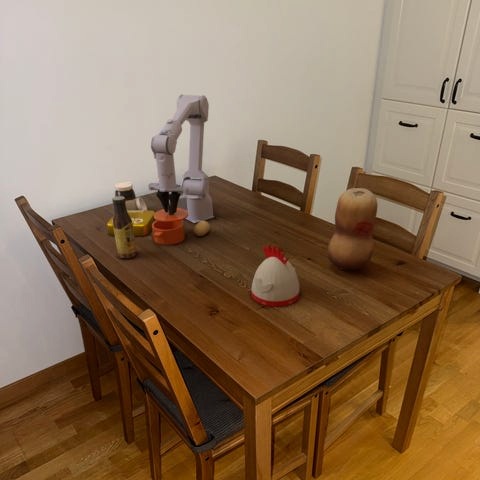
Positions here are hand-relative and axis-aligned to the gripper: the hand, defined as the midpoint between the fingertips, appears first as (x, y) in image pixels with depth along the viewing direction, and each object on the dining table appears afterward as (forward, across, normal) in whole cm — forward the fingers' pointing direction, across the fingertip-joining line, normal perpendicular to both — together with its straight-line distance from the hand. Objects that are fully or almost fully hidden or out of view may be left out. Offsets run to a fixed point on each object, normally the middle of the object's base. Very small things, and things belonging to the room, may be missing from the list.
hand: (170, 212), depth 164 cm
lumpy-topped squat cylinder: (+11, -10, +27) cm, 31 cm away
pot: (+10, -2, +1) cm, 11 cm away
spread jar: (+11, -29, +17) cm, 35 cm away
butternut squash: (+11, +63, 0) cm, 64 cm away
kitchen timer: (+11, +47, -22) cm, 53 cm away
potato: (+10, +8, +8) cm, 15 cm away
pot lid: (+1, 0, 0) cm, 1 cm away
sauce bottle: (+11, -9, -16) cm, 21 cm away
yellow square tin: (+11, -20, +4) cm, 23 cm away
